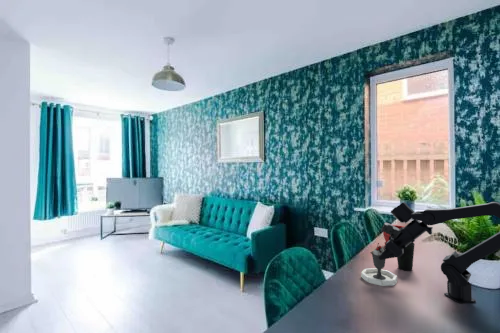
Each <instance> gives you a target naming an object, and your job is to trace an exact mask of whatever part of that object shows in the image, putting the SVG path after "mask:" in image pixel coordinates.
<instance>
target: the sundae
mask: <svg viewBox="0 0 500 333" xmlns="http://www.w3.org/2000/svg"><path fill="white" fill-rule="evenodd" d="M384 250H385V249H384V248H383V247H382V246H381V245H380V242H378V243H377V246H376V247H375V249H374V250H372V251H371V252H370V255H371V256H372V263H373V266H374V268H377V269H378V273H377V275H373V277H374V278H376V279H380V280H385V279H386V277H384V276H382V275H381V269H383V270H384V268H385V265H386V259H383V260H380V259H379V258H378V257H379V256H380V255H381V254H382V253H383V251H384Z"/></svg>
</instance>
